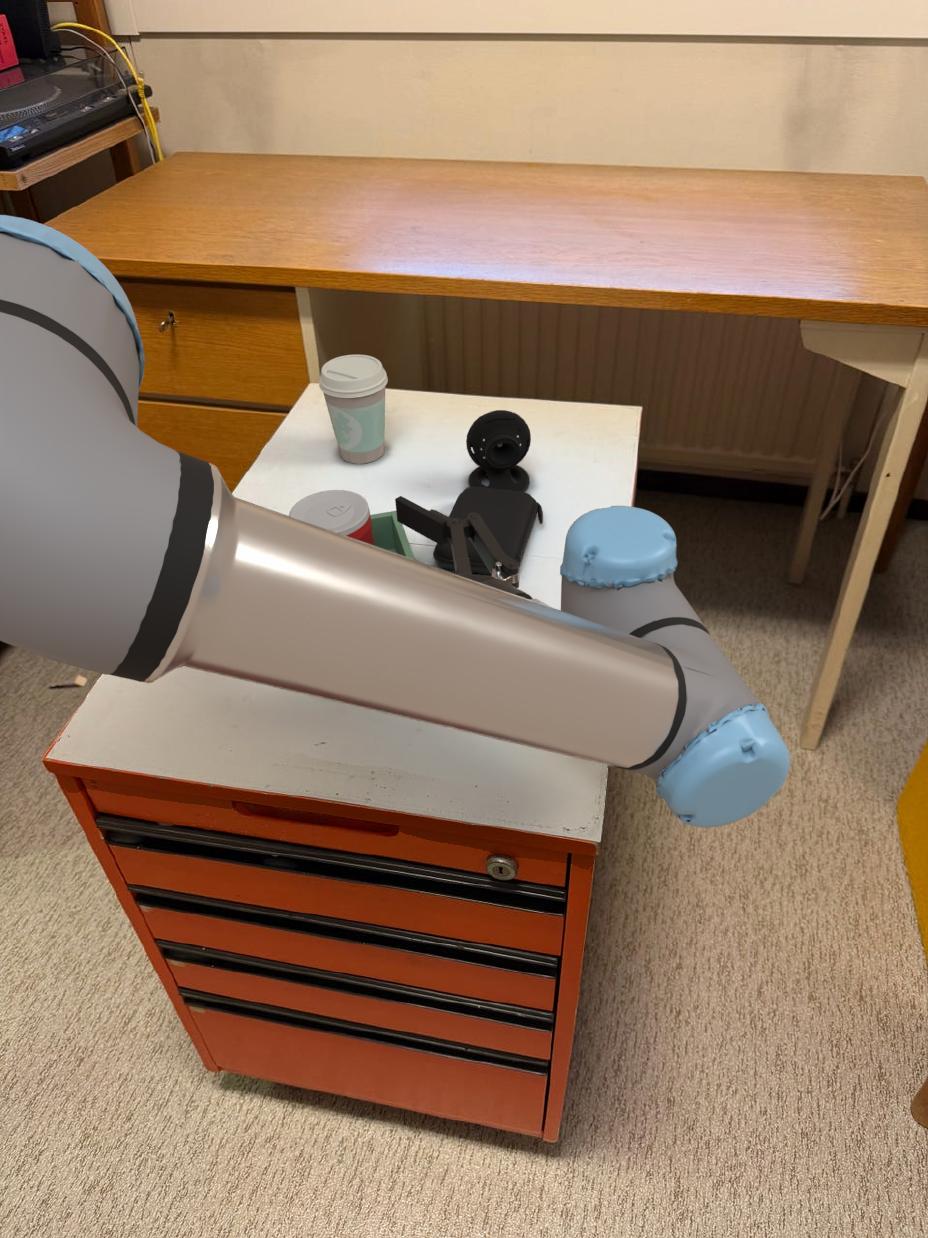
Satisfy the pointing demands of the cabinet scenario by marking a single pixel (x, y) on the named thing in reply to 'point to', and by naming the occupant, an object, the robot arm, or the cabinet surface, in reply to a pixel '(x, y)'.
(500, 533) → the carrying case
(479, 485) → the webcam
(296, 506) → the canned food
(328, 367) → the coffee cup
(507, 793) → the cabinet surface
